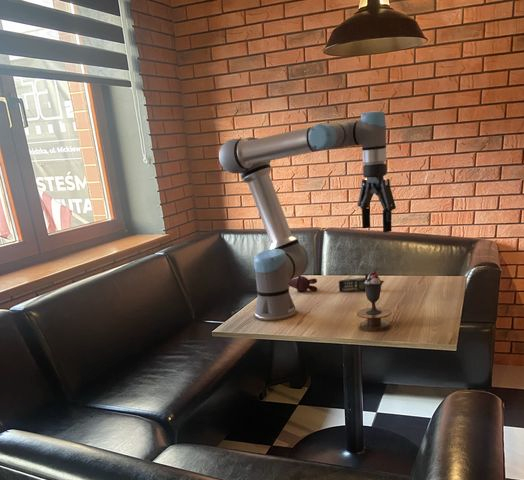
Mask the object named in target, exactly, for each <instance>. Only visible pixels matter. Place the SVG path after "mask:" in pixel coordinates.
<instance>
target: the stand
mask: <svg viewBox="0 0 524 480" xmlns="http://www.w3.org/2000/svg"><path fill="white" fill-rule="evenodd" d="M371 308H372V307H366V308H361V309H360V310H358V311H357V312H356V316H357V317H358V318H361V319H365V320H362V321H360V322H359V324H358V326H359V327H358V328H359V330H360V331H363V332H369V333H372V332H373V333H376V332H383V331H386V330H388V329H389V328H390V321H388V320H386V319H384V318H388V317H389V316H391V315H392V310H391V309H389V308H386V307H376V309H377V310H380V311H382V312H381V313H380V314H376V315H369V314H367V313H366V312H367V311H369V310H371Z"/></svg>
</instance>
